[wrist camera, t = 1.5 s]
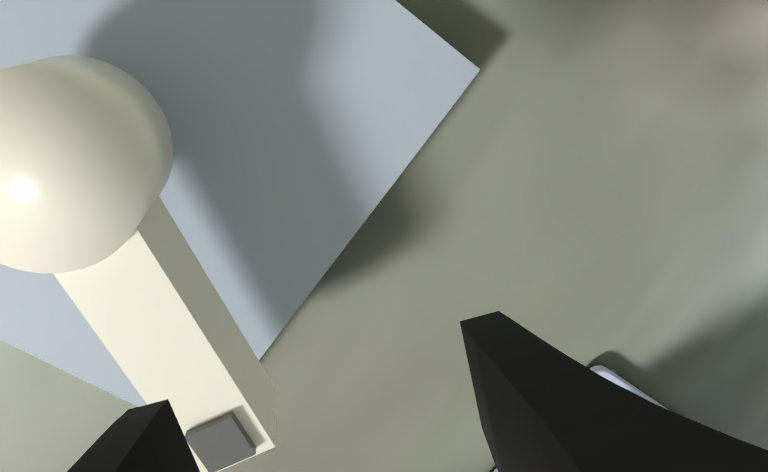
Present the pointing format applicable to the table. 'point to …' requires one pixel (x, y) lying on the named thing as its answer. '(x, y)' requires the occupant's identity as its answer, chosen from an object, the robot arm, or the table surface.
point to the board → (244, 142)
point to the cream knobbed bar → (125, 248)
